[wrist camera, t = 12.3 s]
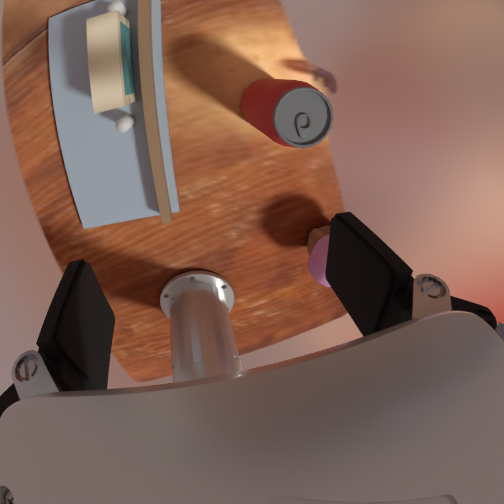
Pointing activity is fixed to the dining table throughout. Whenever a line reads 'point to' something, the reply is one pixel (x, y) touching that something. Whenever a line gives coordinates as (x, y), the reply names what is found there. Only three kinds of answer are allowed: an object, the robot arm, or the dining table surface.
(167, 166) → the ledge
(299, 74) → the dining table surface
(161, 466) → the robot arm
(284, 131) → the beer can
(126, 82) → the beige tapered block
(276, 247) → the dining table surface
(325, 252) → the cupcake
